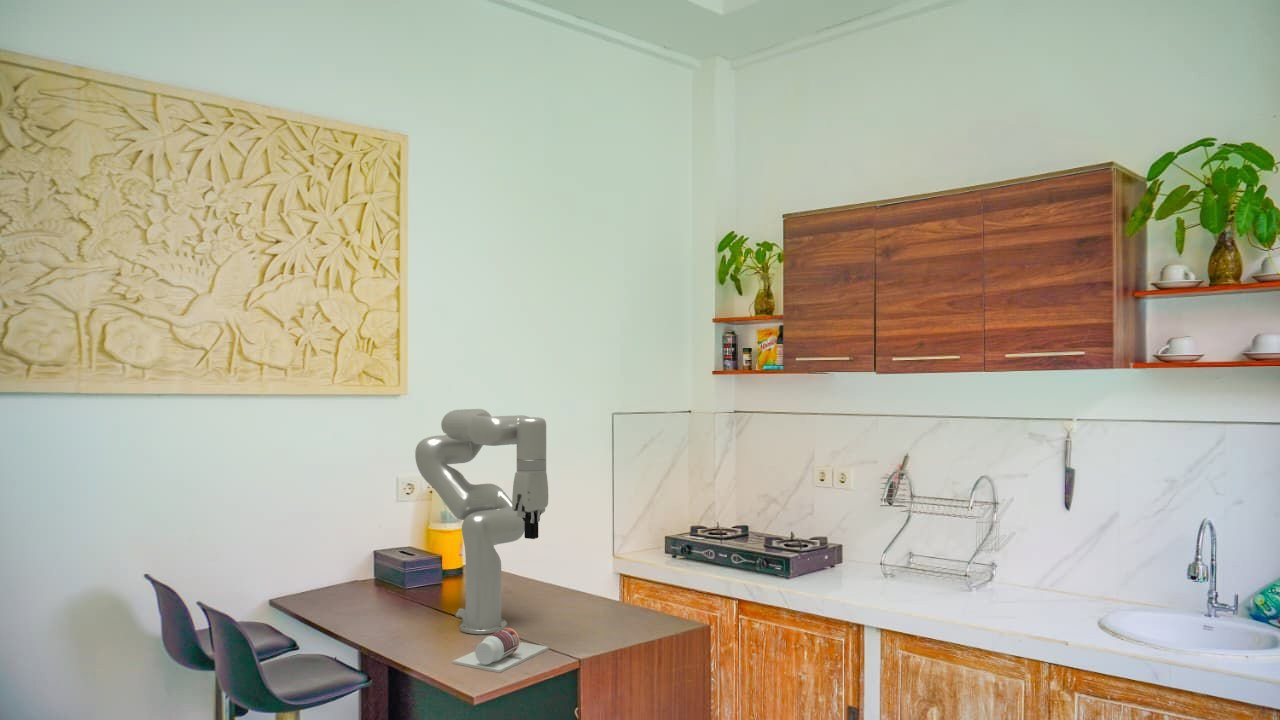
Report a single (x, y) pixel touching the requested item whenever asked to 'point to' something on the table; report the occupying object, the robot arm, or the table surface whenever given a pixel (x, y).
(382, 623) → the table surface
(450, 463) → the robot arm
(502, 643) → the pill bottle
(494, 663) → the mat
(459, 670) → the table surface
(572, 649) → the table surface
